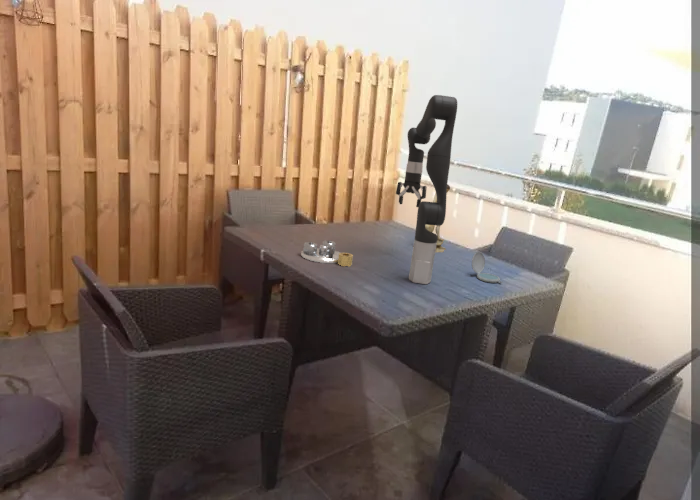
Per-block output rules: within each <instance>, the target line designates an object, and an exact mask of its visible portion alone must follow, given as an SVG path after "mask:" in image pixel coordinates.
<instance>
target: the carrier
mask: <svg viewBox="0 0 700 500" xmlns="http://www.w3.org/2000/svg"><path fill="white" fill-rule="evenodd" d="M336 244H337V243H336V241H333V240H322V244H320V245H319V247H318V243H315V242H312V241H306V242H303V250H301V251H300V256H302V257H301V258H303V259H304V258H305V259H304V260H306V259H307V260H306V261H309V260H310V261H309V262H312V261H314V262H313V263H318V262H320V264H338V258H339V253H341V252H340V251H338V250H336Z"/></svg>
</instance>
